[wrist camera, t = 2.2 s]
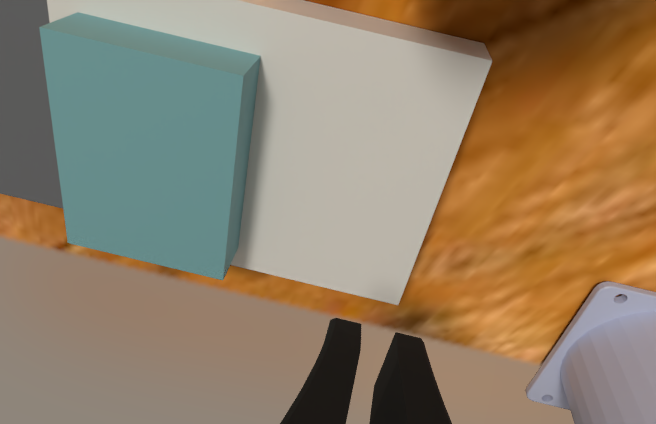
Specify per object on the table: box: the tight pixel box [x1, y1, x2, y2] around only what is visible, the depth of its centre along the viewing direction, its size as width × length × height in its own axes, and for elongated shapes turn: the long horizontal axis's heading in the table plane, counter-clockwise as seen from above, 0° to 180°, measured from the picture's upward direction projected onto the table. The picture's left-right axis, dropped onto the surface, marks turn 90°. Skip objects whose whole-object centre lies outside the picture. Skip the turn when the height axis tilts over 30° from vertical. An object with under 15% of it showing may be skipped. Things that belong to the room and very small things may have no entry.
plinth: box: [47, 0, 492, 305], centre depth 19 cm, size 14×10×2 cm
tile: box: [39, 12, 261, 280], centre depth 17 cm, size 6×8×2 cm
